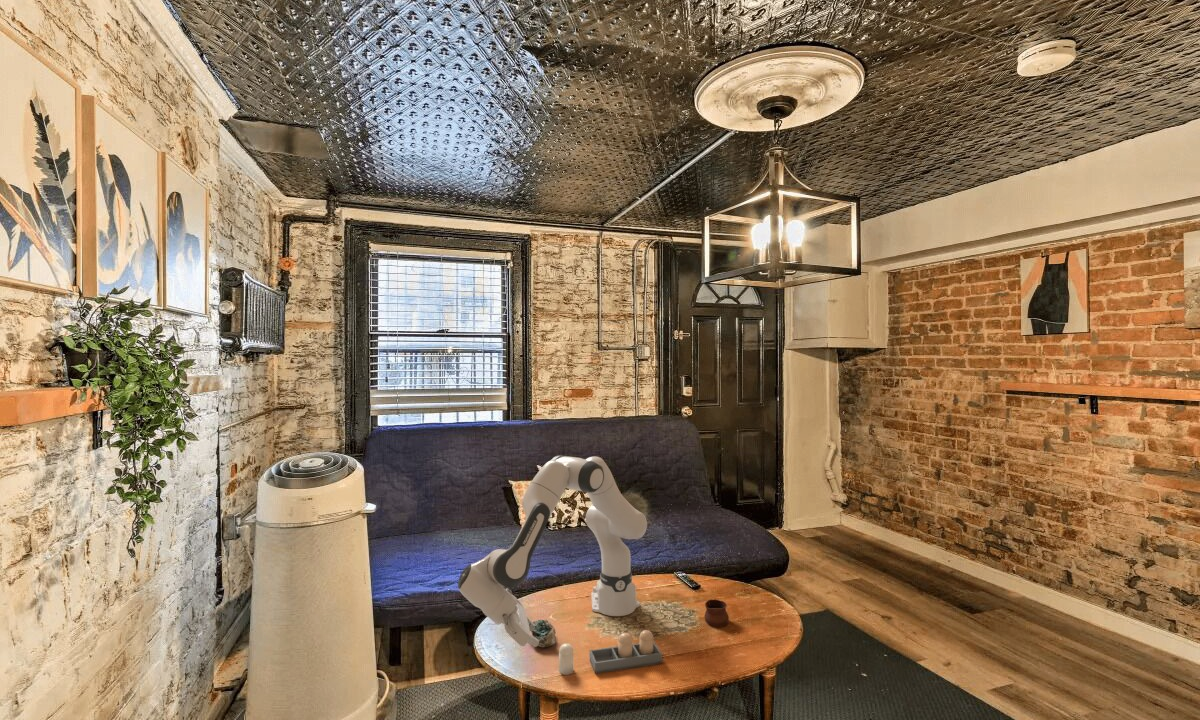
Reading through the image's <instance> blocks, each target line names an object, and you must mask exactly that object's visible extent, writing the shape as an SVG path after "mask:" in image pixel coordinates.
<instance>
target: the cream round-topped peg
mask: <svg viewBox="0 0 1200 720" xmlns="http://www.w3.org/2000/svg"><path fill="white" fill-rule="evenodd" d="M558 671H559V674H561V675H562V676H563V675H564V676H567V675H568V676H569V675H572V674H573V673H574V648H573V646H572V645H571V644H570V643H569V642H568V643H563V644H561V646H559V650H558Z"/></svg>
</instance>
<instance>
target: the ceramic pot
mask: <svg viewBox="0 0 1200 720" xmlns="http://www.w3.org/2000/svg"><path fill="white" fill-rule="evenodd" d="M704 606H705V609H706V610H705V612H704V617H703V618H704V621H705V622H706V624H707V625H709V626H711V627H714V628H722V627H723V628H724V627H726V626H727V624H728V621H729V613H728V612H727V607H728V604H727V603H726V602H725V601H723V600H719V599H708V600H706V602H705V603H704Z"/></svg>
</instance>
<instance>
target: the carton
mask: <svg viewBox="0 0 1200 720" xmlns="http://www.w3.org/2000/svg"><path fill="white" fill-rule="evenodd" d="M638 640H639V641H638V643H633V637H632V635H630V633H628V632H623V633H621V634H619V637H618V645H617V646H610V647H603V648H597V649H590V650H589V662H590V665H591V668H592V669H593V673H594V674H595V675H597V674H602V673H608V672H609V673H610V672H615V671H623V670H630V669H634V668H641V667H649V666H654V665H662V664H663V656H662V655H663V653H662V651H660V648H659V647H658V645H657V644H656V642H655V641H654V635H653V633H652V632H651V630H649V629H644V630H642V631H641V632H640V634H639V639H638Z"/></svg>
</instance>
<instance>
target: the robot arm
mask: <svg viewBox="0 0 1200 720" xmlns="http://www.w3.org/2000/svg"><path fill="white" fill-rule="evenodd" d="M566 489H569V490H571V491H572V490H574V491H578V492H583V493H586V494H587V496H588V498H589V500H590V503H591V504H592V505H590V507H588V509H587V511H586V513H585V522H586V526H587V527H588V528H589V529H590V530H591V532H592V533H593V535H594V536H595V538H596V540H597V543H598V545H599V546H598V547H599V549H600V557H601V571H600V572H599V573H600V575H599V580H597V582H596V586H592V591H591V593H590V599H591V611H592V612H594V613H600V614H603V615H606V616H609V617H624V616H628V615H630V614H632V613H634V611H636V609H637V608H639V607H640V606H641V603H640V601H638V599H637V590H636V587H637V586H636V585H635V583H634V582H633V573H632V570H631V551H630V549H629V547H628V546H627V545H626V544H625V543H624V541H623V540H622V539H625V540H639V539H641V538H643V536H644V535H645V534H646V532H647V528H648V522H647V518H646V516H645V514H644V513H643V512H641V511H639V510H638V509H636V508H635V507H634V506H633V505H632V504H631V503H630V502H629V501H628V500H627V499H626V498H625V497H624V496H623V494H622V493H621V491H620V489H619V488H618V485H617V483H616V481H615V479H614V476H613V474H612V471H611V469H610V468H609V466H608V465H607V463H606V462H605V460H604V459H603V458H601V457H600V456H596V455H595V456H589V457H587V458H581V457H575V456H568V455H563V454H562V455H556V456H554V457H552V459H550V460H549V461H547V462H545V464H544V465H543V466H542V467H541V468H540V469H539V471H537V473H536V474H535V476H534V477H533V479H531V481H530V483H529V484H528V487H527V488H526V490H525V492H524V494H523V496H522V497H523V498H522V500H521V506H522V510H523V512H524V514H525V519H524V523H523V524H522V527H521V528H520V530H519V533H518V535H517V536H516V538H515V540H514V542H513V544H512V545H511V546H510V547H509V548H507V549H505V548H497V549H494V550H492V551H490V553H488V554H487V555H486V556H484V558H482V559H480V560H478V561H476V562H474V563H469V564H468V565H466V567H465V568H464V569H463V570H462V572H461V574H460V576H459V577H458V578H459V579H458V581H457V588H458V590H459V592H460V593H461V595H462V596H463V597H464V598H465V599H466V600H467V601H469V602H470V603H471V604H472V605H473V606H474V607H476V608H479V609H480V610H481V611H482V614H484V616H486V617H487V618H489V620H491V621H492V622H493V623H494V624H495V625H498V626H499V625H502V624H503V625H504V630H505V632H506V634H508V635H509V637H510V638H511V639H513V640H514V641H515V642H516V643H517V644H518V645H520V646H521V647H525V646H526V645H527V644H530V645H532V646H533V647H535V648H537V647H538V646H537V645H538V644H539V641H538V639H537V638H536V637H533V635H532V632H531V631H533V630H534V629H535V625H534V624H533V623H532V622H533V621H531V619H530V618H529V616H527V613H526V608H525V606H524V604H523V603H522V602H521V601H520V600H518V598H517V597H516V596H515V595H513V591H512V590H511V589H510V588H515V587H518V586H520V585H522V584H523V583H524V581H525V580H526V579H527V577H528V575H529V572H530V568H531V567H530V566H531V560H532V556H533V555H534V551H535V549H536V547H537V545H538V543H539V541H540V539H541V537H542V535H543V532H544V531H545V528H546V527H547V524H548V521H549V520H550V518H551V515H552V514H553V512H554V510H555V508H556V506H557V505H558V503H559V502H560V500H561V498H562V496H563V495H564V491H565V490H566Z"/></svg>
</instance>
